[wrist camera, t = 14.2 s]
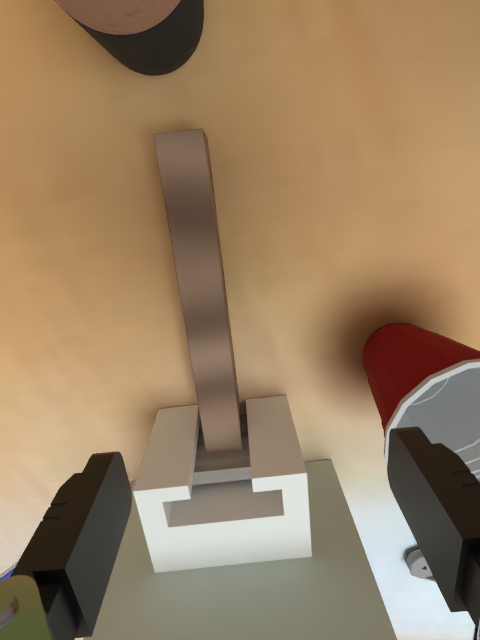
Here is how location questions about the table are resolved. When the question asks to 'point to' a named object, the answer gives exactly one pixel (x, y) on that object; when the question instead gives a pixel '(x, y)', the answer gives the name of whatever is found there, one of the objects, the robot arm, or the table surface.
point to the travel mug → (142, 30)
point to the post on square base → (204, 305)
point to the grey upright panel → (240, 545)
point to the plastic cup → (426, 387)
